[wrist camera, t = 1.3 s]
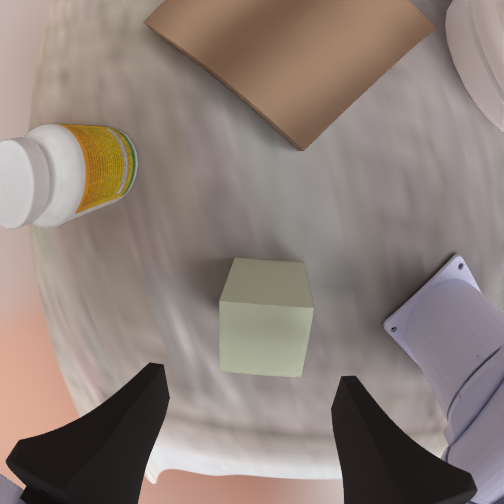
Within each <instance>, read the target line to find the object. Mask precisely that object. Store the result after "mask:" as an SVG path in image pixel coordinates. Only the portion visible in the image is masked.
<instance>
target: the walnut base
mask: <svg viewBox="0 0 504 504" xmlns="http://www.w3.org/2000/svg"><path fill="white" fill-rule="evenodd" d="M144 23H145V24H146V25H147V26H148V27H149V28H151V29H152V30H153V31H154V32H155V33H156V34H157V35H159V36H160V37H161V38H162V39H164V40H165V41H167V42H168V43H170V44H171V45H172V46H174V47H175V48H177V49H178V50H179V51H181V52H182V53H184V54H185V55H186V56H188V57H189V58H190V59H192V60H193V61H194V62H196V63H197V64H198V65H200V66H201V67H202V68H204V69H205V70H206V71H207V72H209V73H210V74H211V75H213V76H214V77H215V78H216V79H218V80H219V81H220V82H221V83H223V84H224V85H225V86H226V87H228V88H229V89H230V90H231V91H232V92H234V93H235V94H236V95H237V96H238V97H240V98H241V99H242V100H243V101H244V102H246V103H247V104H248V105H249V106H250V107H251V108H253V109H254V110H255V111H256V112H257V113H258V114H259V115H261V116H262V117H263V118H264V119H265V120H266V121H267V122H268V123H270V124H271V125H272V126H273V127H274V128H275V129H276V130H277V131H278V132H279V133H280V134H282V135H283V136H284V137H285V138H286V139H287V140H288V141H289V142H290V143H291V144H292V145H293V146H294V147H295V148H296V149H297V150H298V151H304V150H305V149H306V148H307V147H308V146H309V145H310V144H311V143H312V142H313V141H314V140H315V139H316V138H317V137H318V136H319V135H320V134H321V133H322V132H323V131H324V130H325V129H326V128H327V127H329V126H330V125H331V124H332V123H333V122H334V121H335V120H336V119H337V118H338V117H339V116H340V115H341V114H342V113H343V112H344V111H345V110H346V109H347V108H348V107H349V106H350V105H351V104H352V103H353V102H354V101H356V100H357V99H358V98H359V97H360V96H361V95H362V94H363V93H364V92H365V91H366V90H367V89H368V88H369V87H370V86H371V85H373V84H374V83H375V82H376V81H377V80H378V79H379V78H380V77H381V76H382V75H383V74H384V73H385V72H387V71H388V70H389V69H390V68H391V67H392V66H393V65H394V64H395V63H396V62H397V61H399V60H400V59H401V58H402V57H403V56H404V55H405V54H406V53H407V52H409V51H410V50H411V49H412V48H413V47H414V46H415V45H416V44H418V43H419V42H420V41H421V40H422V39H423V38H424V37H425V36H427V35H428V34H429V33H430V32H431V31H432V30H433V29H435V28H436V27H435V26H434V25H433V24H432V23H431V21H430V20H429V19H428V18H427V17H426V16H425V15H424V14H423V13H422V12H421V11H420V10H419V9H418V8H417V7H415V6H414V5H413V4H412V3H411V2H410V1H409V0H165V1H164V2H163V3H162V4H161V5H160V6H159V7H158V8H157V9H156V10H155V11H154V12H153V13H152V14H151V15H150V16H149V17H148V18H147V19H146V20H145V21H144Z"/></svg>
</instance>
